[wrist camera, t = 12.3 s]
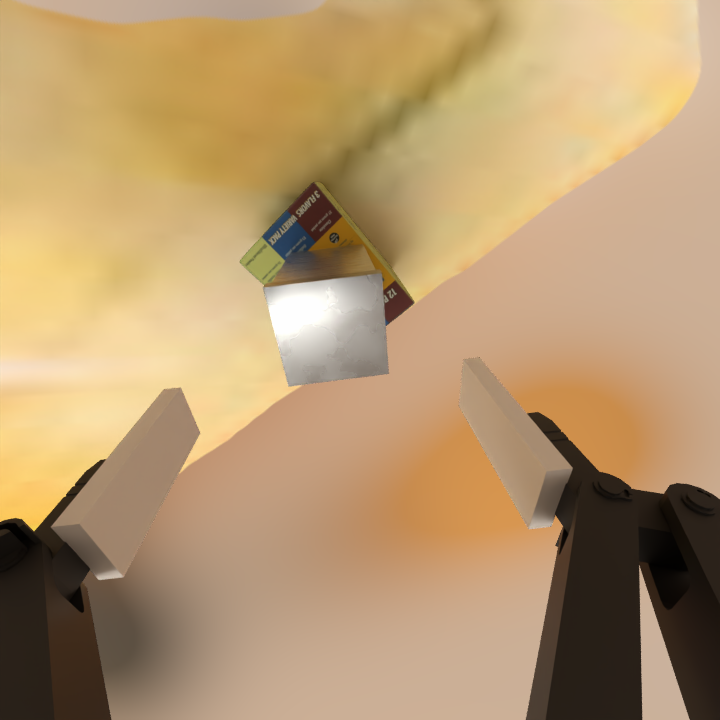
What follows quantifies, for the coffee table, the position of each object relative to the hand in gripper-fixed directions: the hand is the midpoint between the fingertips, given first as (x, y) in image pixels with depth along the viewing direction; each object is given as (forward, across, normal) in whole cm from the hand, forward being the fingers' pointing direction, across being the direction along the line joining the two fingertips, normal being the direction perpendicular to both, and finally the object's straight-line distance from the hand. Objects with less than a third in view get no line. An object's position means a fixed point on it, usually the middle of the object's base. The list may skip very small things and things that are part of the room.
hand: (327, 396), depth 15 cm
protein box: (+35, 0, 0) cm, 35 cm away
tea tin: (+19, 0, 0) cm, 19 cm away
